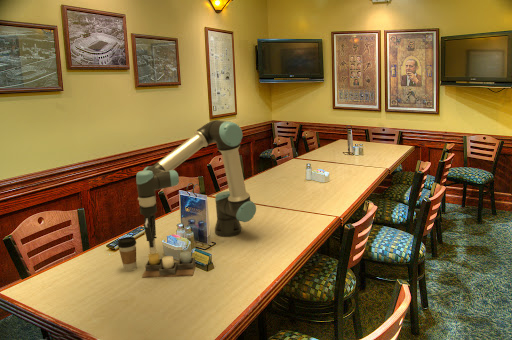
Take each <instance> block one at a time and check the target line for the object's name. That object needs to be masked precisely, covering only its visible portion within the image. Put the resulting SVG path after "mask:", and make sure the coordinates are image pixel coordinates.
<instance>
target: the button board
mask: <svg viewBox="0 0 512 340" xmlns="http://www.w3.org/2000/svg"><path fill="white" fill-rule="evenodd" d="M191 259H192V261H191V262H190V263H187V264H183V263H181V257H180V258H179V260H178V262H174V267H172V268H170V269H165V268H163V263H162V258H160V263H159V264H156V265H150V264H149V259H147V262H146V264H145V265H144V268H145V269H144V270H145V271H144V272H143V274H142V276H141V278H142V279H150V278H152V279H153V278H173V277H174V278H176V277H193V275H194V273H195V270H196V267H197V264H195V262H196V257H195V256H194V257H192V256H191Z"/></svg>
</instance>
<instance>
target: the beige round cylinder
mask: <svg viewBox="0 0 512 340" xmlns="http://www.w3.org/2000/svg"><path fill="white" fill-rule="evenodd" d="M161 259H162V263H163V268H165V269H170V268H172V267H174V256H172V255H165V256H163V257H162V258H161Z"/></svg>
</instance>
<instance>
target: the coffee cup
mask: <svg viewBox="0 0 512 340" xmlns="http://www.w3.org/2000/svg"><path fill="white" fill-rule="evenodd" d="M136 245H137V240H136V238H135V237H134V236H125V237H122V238H119V239H118V240H117V247H118V250H119V251H118V252H119V254H120V259H121V263H122V267H123V270H124V271H125V272H132V271H135V270H136V269H137V265H138V264H137V246H136Z"/></svg>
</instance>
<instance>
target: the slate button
mask: <svg viewBox="0 0 512 340" xmlns="http://www.w3.org/2000/svg"><path fill="white" fill-rule="evenodd" d="M179 257H180V258H181V263H183V264H187V263H190V262H191V261H192V259H191V258H192V252H191V251H188V250H185V251H181V252H180V255H179Z"/></svg>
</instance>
